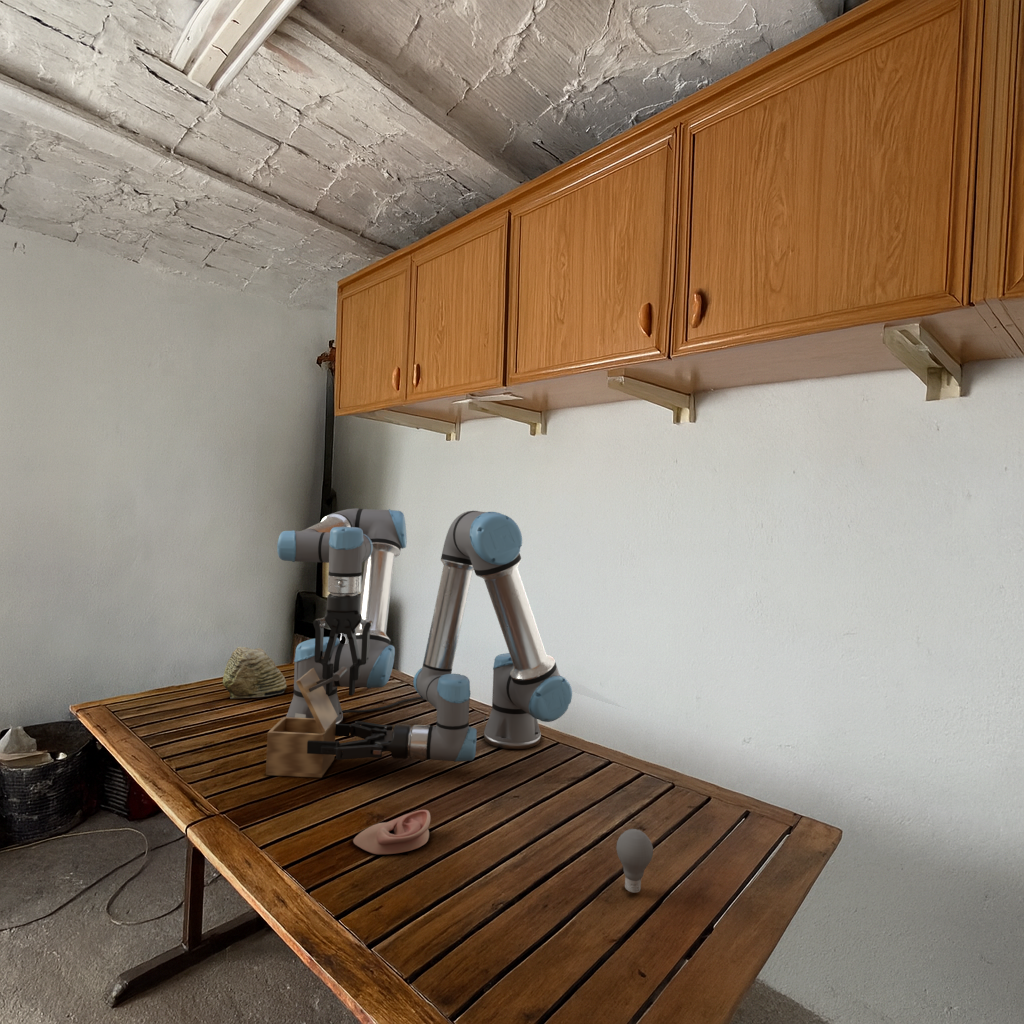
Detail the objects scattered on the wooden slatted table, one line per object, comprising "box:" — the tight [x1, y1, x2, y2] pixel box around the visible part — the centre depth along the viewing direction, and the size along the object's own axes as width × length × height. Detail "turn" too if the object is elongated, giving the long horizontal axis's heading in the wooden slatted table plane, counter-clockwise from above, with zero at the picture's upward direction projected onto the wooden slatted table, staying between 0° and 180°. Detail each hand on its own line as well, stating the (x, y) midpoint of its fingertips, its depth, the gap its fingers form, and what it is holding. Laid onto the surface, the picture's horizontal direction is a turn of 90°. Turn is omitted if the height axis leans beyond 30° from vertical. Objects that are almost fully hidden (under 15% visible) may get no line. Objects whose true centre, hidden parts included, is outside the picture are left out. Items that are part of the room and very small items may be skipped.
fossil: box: [222, 646, 288, 699], centre depth 198 cm, size 9×18×15 cm, turn 132°
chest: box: [265, 716, 336, 778], centre depth 148 cm, size 13×10×10 cm
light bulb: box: [615, 828, 654, 894], centre depth 106 cm, size 6×6×10 cm
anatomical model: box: [352, 809, 431, 856], centre depth 118 cm, size 13×4×12 cm
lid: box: [296, 667, 347, 733], centre depth 148 cm, size 13×10×9 cm
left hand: (340, 693), depth 148 cm, fingers open, 5 cm apart
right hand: (315, 737), depth 148 cm, fingers closed on chest, 10 cm apart
